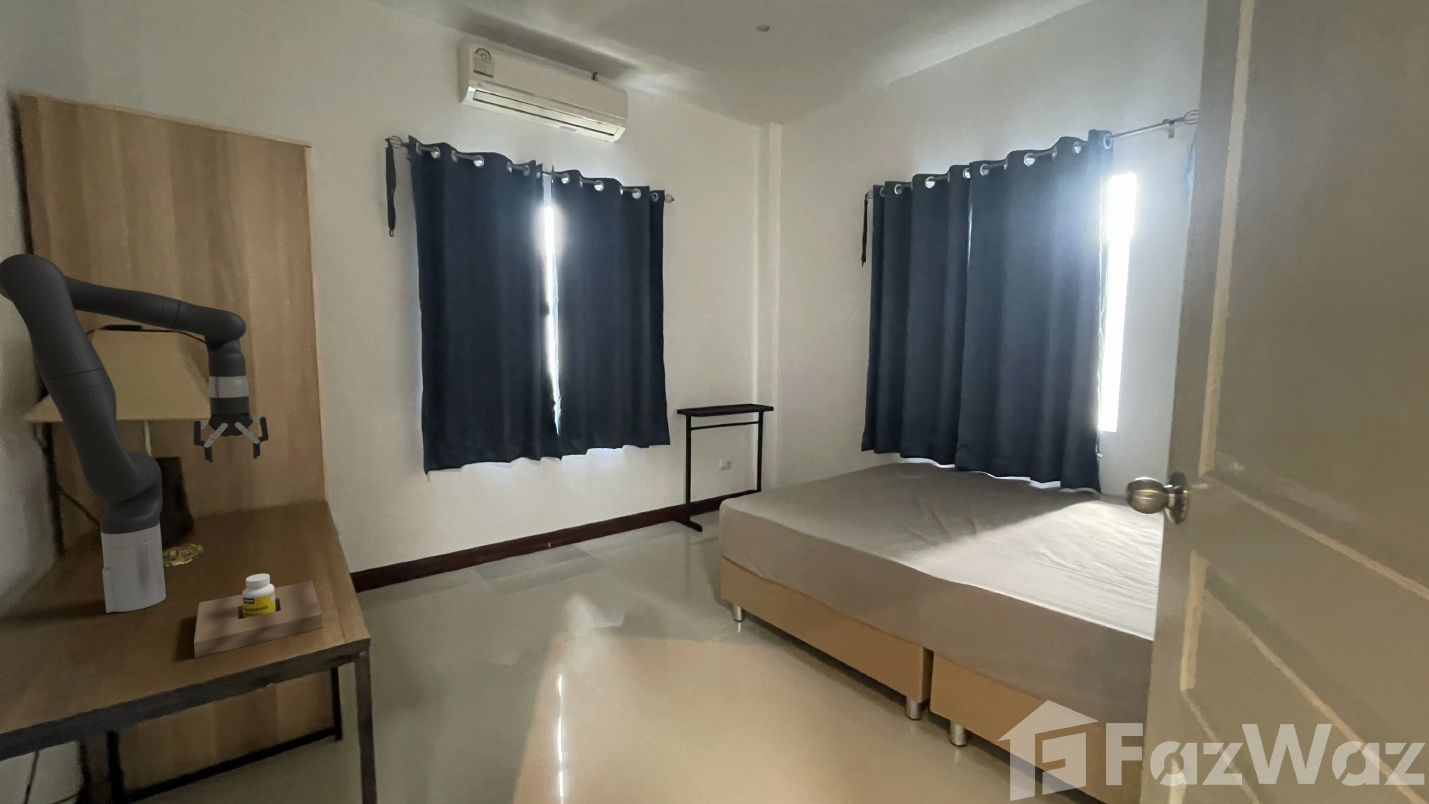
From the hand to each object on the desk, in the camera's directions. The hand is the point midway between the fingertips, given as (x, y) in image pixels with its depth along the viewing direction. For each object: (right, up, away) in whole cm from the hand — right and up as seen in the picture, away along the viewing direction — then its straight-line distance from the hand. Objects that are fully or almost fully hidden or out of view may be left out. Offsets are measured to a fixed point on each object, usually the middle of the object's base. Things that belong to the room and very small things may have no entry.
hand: (233, 460), depth 149 cm
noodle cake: (-22, -27, +11) cm, 37 cm away
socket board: (+23, -32, -22) cm, 45 cm away
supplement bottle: (+23, -32, -22) cm, 45 cm away
